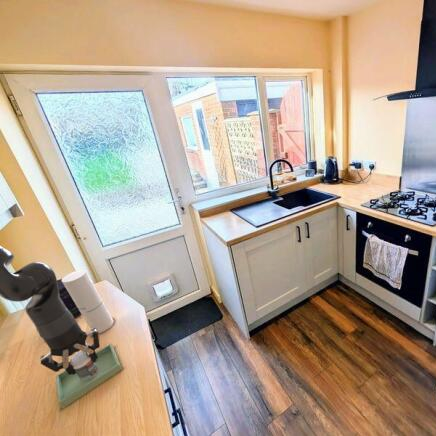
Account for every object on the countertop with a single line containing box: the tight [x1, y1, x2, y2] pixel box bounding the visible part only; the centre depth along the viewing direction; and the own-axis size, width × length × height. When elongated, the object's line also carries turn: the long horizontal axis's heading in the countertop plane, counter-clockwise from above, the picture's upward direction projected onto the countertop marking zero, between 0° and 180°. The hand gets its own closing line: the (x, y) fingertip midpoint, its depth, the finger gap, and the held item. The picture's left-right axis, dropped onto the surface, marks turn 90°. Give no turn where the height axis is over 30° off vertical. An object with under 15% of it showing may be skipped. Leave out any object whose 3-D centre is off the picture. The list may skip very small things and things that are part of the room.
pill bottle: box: [69, 350, 98, 381], centre depth 77 cm, size 5×5×8 cm
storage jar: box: [57, 278, 82, 319], centre depth 105 cm, size 10×10×15 cm
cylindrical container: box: [61, 269, 114, 334], centre depth 93 cm, size 7×7×25 cm
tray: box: [55, 343, 123, 409], centre depth 79 cm, size 15×12×2 cm
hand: (84, 366), depth 77 cm, fingers closed on pill bottle, 4 cm apart
